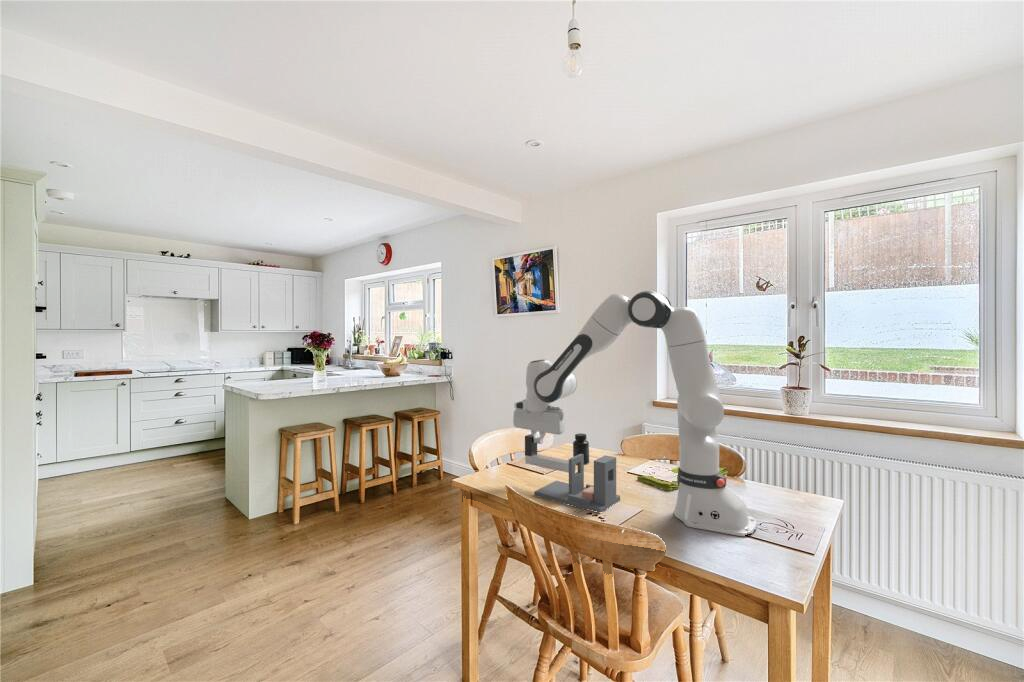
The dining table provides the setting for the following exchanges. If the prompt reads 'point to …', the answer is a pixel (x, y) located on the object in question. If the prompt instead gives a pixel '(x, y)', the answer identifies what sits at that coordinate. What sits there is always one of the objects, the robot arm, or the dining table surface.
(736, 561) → the dining table surface
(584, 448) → the supplement bottle
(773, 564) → the dining table surface
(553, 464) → the shaft
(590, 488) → the block
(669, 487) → the dish towel
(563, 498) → the bracket
